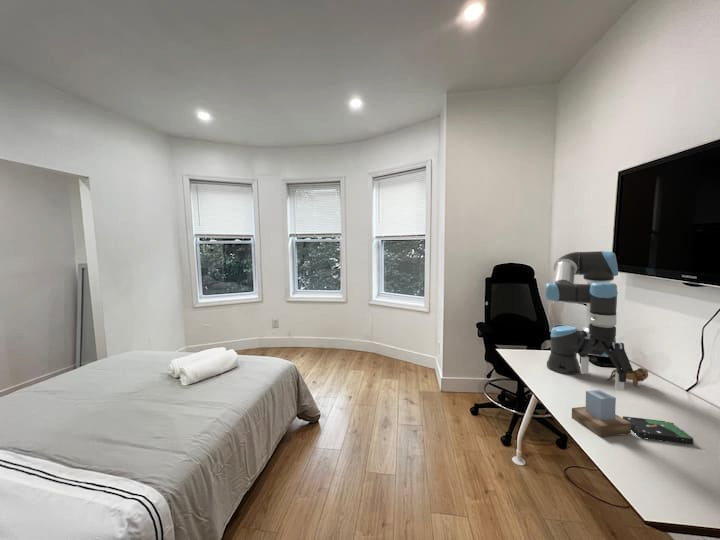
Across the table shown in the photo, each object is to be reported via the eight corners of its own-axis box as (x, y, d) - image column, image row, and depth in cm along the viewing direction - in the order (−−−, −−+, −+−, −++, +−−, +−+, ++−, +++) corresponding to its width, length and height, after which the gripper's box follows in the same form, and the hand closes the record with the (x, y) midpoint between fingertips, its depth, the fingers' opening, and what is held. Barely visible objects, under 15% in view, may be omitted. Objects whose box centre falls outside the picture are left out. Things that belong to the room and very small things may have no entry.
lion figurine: (645, 385, 137) (646, 367, 137) (649, 390, 133) (650, 371, 132) (605, 379, 145) (606, 361, 144) (608, 383, 140) (608, 365, 140)
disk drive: (639, 440, 100) (694, 446, 96) (639, 432, 100) (694, 438, 95) (621, 422, 110) (671, 428, 105) (621, 415, 110) (671, 420, 105)
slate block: (585, 411, 110) (585, 391, 109) (599, 410, 111) (600, 389, 110) (600, 420, 104) (601, 399, 103) (615, 418, 105) (615, 397, 104)
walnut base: (571, 417, 113) (571, 407, 112) (599, 415, 114) (599, 405, 114) (600, 437, 101) (600, 426, 101) (630, 433, 102) (631, 423, 102)
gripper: (564, 317, 117) (564, 367, 119) (628, 335, 92) (626, 399, 94) (581, 316, 118) (580, 366, 120) (649, 334, 93) (646, 396, 95)
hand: (600, 380), depth 107 cm, fingers open, 13 cm apart
